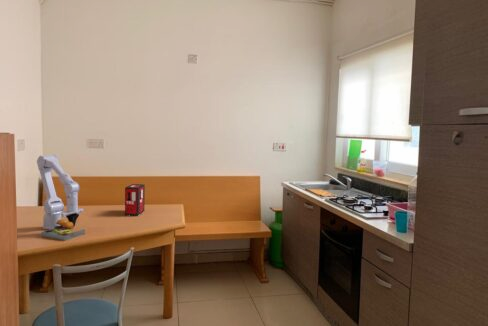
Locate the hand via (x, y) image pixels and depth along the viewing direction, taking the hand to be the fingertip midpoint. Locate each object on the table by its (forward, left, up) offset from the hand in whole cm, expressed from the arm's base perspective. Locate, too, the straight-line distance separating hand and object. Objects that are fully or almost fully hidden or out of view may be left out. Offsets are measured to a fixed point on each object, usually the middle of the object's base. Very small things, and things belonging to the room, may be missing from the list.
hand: (72, 226), depth 218 cm
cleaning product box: (+3, +55, -4) cm, 56 cm away
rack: (0, -7, -3) cm, 7 cm away
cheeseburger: (0, -7, -4) cm, 8 cm away
